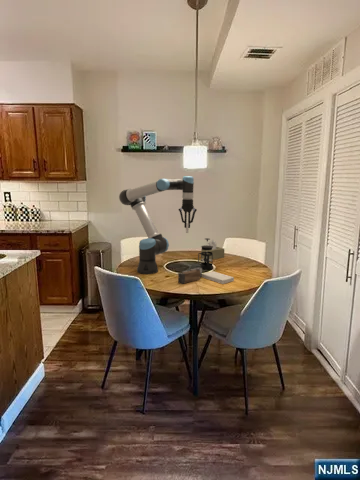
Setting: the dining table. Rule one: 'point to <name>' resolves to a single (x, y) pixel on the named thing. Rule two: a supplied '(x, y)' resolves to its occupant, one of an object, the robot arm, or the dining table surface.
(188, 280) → the bar
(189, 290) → the dining table surface
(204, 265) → the french press
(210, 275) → the table-top board
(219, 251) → the tissue box
